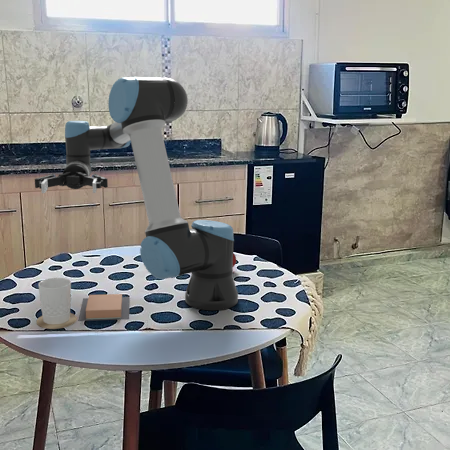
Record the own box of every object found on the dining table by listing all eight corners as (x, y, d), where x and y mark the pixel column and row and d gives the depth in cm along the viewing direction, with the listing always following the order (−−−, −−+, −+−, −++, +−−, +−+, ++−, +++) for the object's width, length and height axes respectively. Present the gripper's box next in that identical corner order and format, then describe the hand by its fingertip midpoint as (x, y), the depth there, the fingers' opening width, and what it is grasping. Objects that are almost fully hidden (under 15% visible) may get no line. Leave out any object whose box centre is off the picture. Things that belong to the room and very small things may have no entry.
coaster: (85, 320, 153) (85, 317, 153) (55, 334, 145) (55, 331, 145) (58, 311, 158) (57, 309, 158) (28, 324, 150) (28, 321, 150)
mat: (83, 300, 167) (83, 298, 167) (129, 298, 169) (129, 296, 168) (78, 322, 152) (78, 320, 152) (129, 321, 154) (129, 318, 154)
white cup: (67, 326, 148) (65, 289, 145) (36, 325, 148) (34, 288, 145) (75, 313, 155) (74, 278, 153) (46, 312, 156) (44, 277, 153)
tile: (88, 295, 162) (85, 310, 152) (122, 294, 164) (121, 309, 153) (89, 303, 163) (86, 319, 153) (122, 302, 164) (121, 318, 154)
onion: (216, 268, 196) (216, 245, 194) (232, 267, 198) (233, 244, 196) (221, 274, 191) (222, 250, 189) (238, 272, 193) (238, 249, 191)
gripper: (117, 186, 184) (115, 201, 164) (34, 187, 180) (22, 202, 160) (116, 163, 182) (114, 174, 162) (33, 163, 178) (20, 174, 158)
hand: (68, 188), depth 161 cm, fingers open, 13 cm apart
